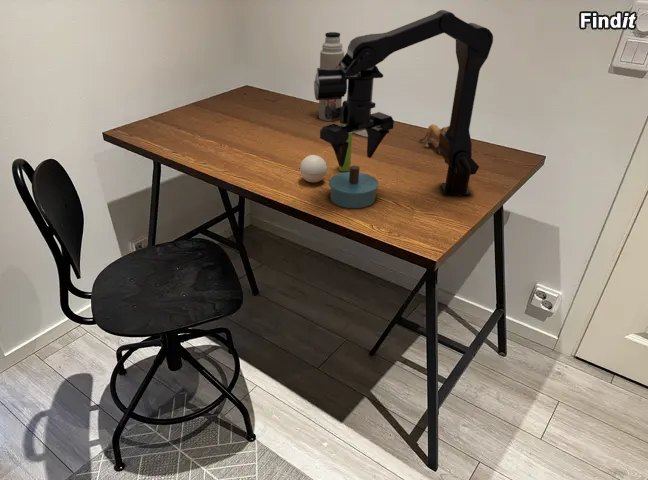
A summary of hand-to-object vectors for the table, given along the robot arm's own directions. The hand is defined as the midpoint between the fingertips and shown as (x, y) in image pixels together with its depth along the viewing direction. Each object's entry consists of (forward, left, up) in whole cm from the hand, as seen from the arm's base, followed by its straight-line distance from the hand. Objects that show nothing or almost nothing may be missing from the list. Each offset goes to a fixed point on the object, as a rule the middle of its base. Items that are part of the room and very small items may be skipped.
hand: (355, 161), depth 127 cm
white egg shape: (+8, +12, -10) cm, 18 cm away
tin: (0, 0, -10) cm, 10 cm away
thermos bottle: (+64, +7, -10) cm, 65 cm away
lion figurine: (+35, -27, -10) cm, 45 cm away
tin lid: (0, 0, -6) cm, 6 cm away
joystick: (+50, -5, -10) cm, 51 cm away
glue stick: (+18, +2, -10) cm, 21 cm away
